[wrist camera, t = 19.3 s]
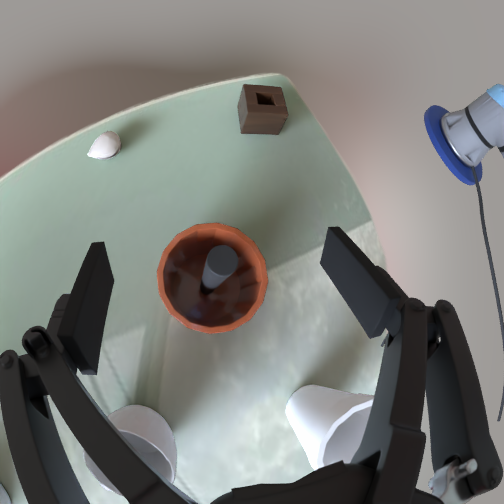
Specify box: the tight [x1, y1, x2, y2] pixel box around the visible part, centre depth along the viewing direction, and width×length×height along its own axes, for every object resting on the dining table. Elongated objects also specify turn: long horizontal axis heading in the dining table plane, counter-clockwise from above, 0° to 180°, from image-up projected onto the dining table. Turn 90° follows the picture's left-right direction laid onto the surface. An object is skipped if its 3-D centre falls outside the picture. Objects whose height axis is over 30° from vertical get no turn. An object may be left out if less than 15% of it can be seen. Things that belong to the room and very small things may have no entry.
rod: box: [200, 245, 238, 294], centre depth 22 cm, size 2×2×18 cm
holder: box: [238, 84, 288, 135], centre depth 35 cm, size 6×6×5 cm
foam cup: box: [286, 384, 374, 470], centre depth 25 cm, size 10×9×13 cm
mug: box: [83, 405, 177, 496], centre depth 21 cm, size 13×9×10 cm
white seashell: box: [88, 131, 121, 159], centre depth 31 cm, size 4×5×2 cm
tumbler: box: [157, 223, 268, 334], centre depth 26 cm, size 9×9×11 cm
